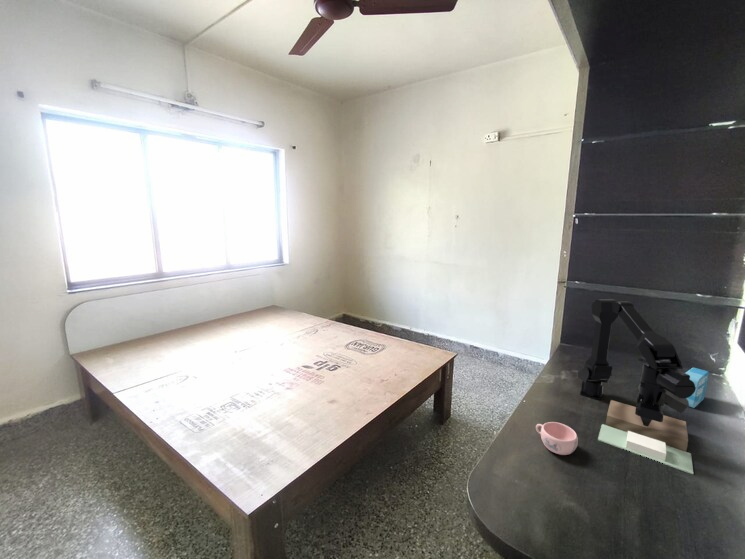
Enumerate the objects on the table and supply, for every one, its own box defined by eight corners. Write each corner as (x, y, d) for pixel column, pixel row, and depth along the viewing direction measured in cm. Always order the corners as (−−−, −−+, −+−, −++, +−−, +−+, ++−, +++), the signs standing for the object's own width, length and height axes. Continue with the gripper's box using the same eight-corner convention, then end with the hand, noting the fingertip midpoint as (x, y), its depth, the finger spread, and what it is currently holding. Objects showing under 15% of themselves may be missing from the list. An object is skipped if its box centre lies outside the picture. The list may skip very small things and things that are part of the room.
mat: (597, 440, 104) (597, 439, 104) (601, 424, 112) (602, 423, 112) (693, 474, 90) (693, 473, 90) (690, 454, 98) (690, 453, 97)
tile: (627, 430, 104) (626, 437, 105) (627, 440, 100) (625, 447, 100) (665, 442, 99) (664, 449, 99) (666, 453, 94) (664, 461, 95)
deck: (605, 425, 111) (606, 415, 110) (609, 409, 120) (610, 399, 119) (685, 452, 98) (688, 440, 98) (683, 432, 107) (685, 421, 106)
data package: (693, 409, 120) (699, 379, 117) (677, 403, 123) (682, 374, 121) (704, 399, 126) (709, 370, 123) (688, 394, 130) (693, 366, 127)
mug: (581, 449, 100) (583, 432, 99) (568, 464, 94) (570, 446, 93) (542, 430, 110) (543, 414, 109) (527, 442, 104) (528, 426, 103)
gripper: (691, 403, 88) (681, 453, 91) (687, 376, 102) (678, 421, 105) (638, 389, 96) (631, 436, 99) (641, 366, 109) (634, 408, 112)
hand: (645, 425), depth 104 cm, fingers closed
